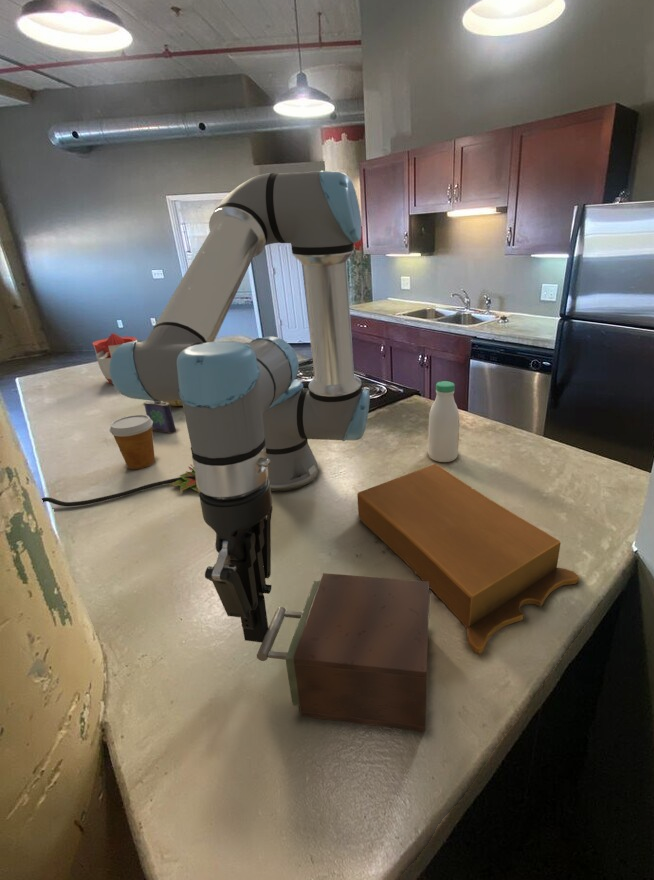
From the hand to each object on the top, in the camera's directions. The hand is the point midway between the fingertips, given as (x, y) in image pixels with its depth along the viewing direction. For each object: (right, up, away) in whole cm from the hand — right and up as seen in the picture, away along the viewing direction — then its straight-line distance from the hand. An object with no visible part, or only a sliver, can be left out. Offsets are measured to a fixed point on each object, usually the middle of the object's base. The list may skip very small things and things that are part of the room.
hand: (256, 636), depth 55 cm
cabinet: (+15, -5, 0) cm, 16 cm away
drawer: (+11, -4, 0) cm, 11 cm away
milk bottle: (+32, +16, +54) cm, 65 cm away
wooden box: (+30, +4, +21) cm, 37 cm away
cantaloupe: (-55, +30, +93) cm, 112 cm away
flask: (-51, +22, +73) cm, 92 cm away
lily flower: (-28, +12, +45) cm, 54 cm away
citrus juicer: (-93, +39, +120) cm, 157 cm away
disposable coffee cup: (-47, +15, +53) cm, 72 cm away
